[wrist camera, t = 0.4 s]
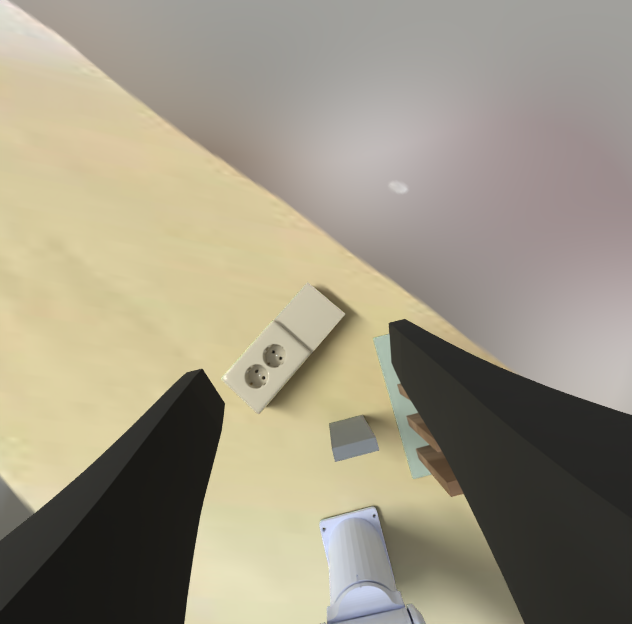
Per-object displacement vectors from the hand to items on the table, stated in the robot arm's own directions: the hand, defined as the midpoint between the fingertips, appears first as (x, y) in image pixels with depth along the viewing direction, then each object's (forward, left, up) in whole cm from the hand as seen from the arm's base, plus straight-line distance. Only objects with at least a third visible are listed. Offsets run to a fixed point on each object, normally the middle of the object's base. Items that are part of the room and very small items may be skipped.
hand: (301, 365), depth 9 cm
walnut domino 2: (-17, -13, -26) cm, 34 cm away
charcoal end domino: (-11, -2, -26) cm, 29 cm away
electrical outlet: (+2, +4, -27) cm, 27 cm away
